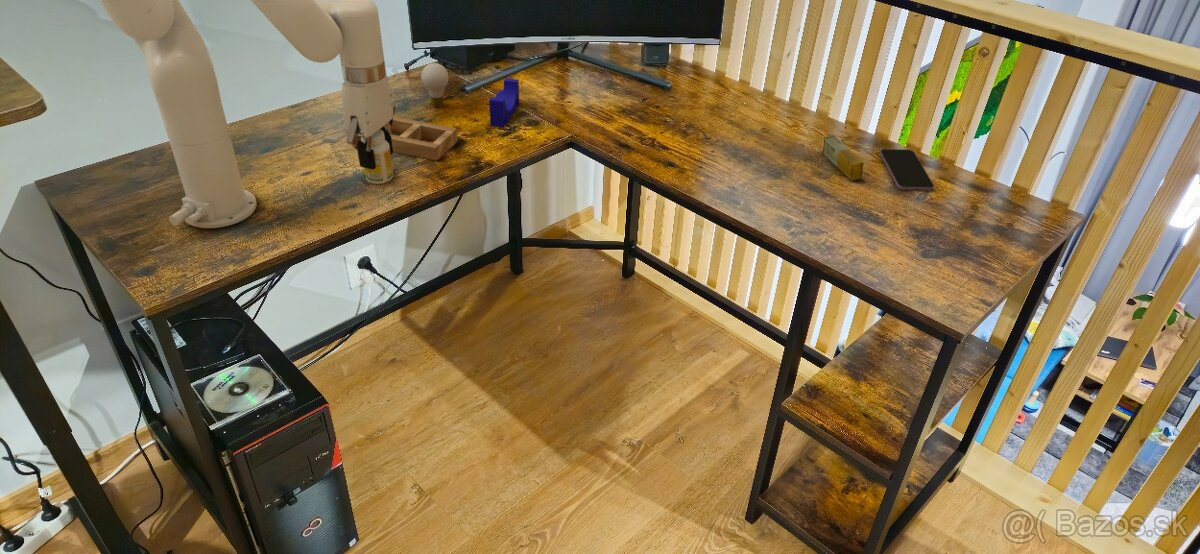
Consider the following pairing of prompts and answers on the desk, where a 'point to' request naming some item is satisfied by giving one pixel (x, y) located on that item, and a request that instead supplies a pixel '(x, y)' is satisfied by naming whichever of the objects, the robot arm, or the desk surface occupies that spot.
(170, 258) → the desk surface
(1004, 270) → the desk surface
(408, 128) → the caddy
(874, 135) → the desk surface
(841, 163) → the medication box
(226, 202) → the robot arm
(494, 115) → the cable clip
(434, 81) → the light bulb
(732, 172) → the desk surface
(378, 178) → the supplement bottle
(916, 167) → the smartphone
